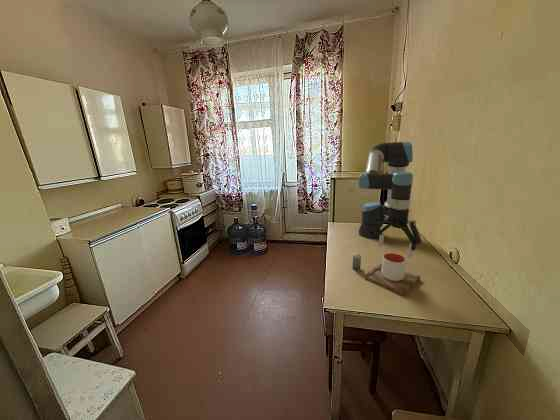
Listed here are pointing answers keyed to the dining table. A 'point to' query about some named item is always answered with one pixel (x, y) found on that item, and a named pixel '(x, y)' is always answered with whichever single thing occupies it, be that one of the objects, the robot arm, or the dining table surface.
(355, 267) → the shaker
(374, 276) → the board
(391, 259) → the cup
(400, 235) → the dining table surface
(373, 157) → the robot arm
